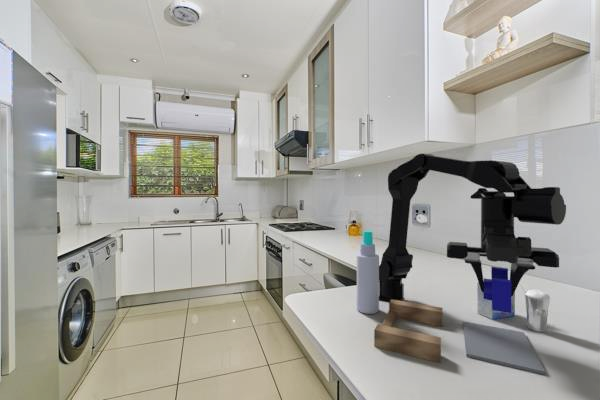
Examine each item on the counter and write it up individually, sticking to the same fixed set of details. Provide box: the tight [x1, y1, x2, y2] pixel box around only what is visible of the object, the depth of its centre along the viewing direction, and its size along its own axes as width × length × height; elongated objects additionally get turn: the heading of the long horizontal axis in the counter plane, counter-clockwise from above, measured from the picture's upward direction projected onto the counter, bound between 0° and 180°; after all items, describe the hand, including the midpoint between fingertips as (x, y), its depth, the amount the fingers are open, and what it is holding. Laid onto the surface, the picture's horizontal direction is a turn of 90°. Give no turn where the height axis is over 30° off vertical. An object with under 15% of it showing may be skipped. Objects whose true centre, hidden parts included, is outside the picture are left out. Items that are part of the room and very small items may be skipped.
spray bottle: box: [356, 230, 380, 315], centre depth 77 cm, size 6×6×22 cm
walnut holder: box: [373, 299, 443, 364], centre depth 64 cm, size 12×20×4 cm, turn 152°
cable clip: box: [483, 266, 511, 313], centre depth 59 cm, size 12×4×6 cm, turn 146°
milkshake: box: [520, 285, 551, 333], centre depth 66 cm, size 4×5×10 cm
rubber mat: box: [462, 320, 546, 376], centre depth 59 cm, size 12×16×1 cm
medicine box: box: [476, 281, 516, 321], centre depth 74 cm, size 8×4×9 cm, turn 105°
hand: (496, 293), depth 59 cm, fingers closed on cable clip, 5 cm apart
